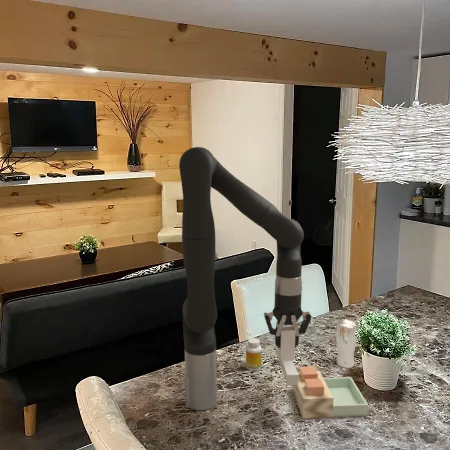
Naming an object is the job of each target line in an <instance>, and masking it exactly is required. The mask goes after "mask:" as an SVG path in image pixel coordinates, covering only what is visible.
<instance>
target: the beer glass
mask: <svg viewBox="0 0 450 450" xmlns="http://www.w3.org/2000/svg"><path fill="white" fill-rule="evenodd" d="M356 330H357V331H358V323H357V322H356V321H354V320H352V319H339V320H338V321H337V322H336V334H335V335H336V336H335V337H336V338H335V339H336V347H337V358H336V365H337V366H339V367H340V368H344V369H350V368H351V369H352V368H353V367H354V366H355V357H354V355H355V350H356V346H357V341H358V336H357V337H356V336H355V331H356Z"/></svg>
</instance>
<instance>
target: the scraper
mask: <svg viewBox="0 0 450 450" xmlns="http://www.w3.org/2000/svg"><path fill="white" fill-rule="evenodd" d="M280 336H281V344H280V348H278V347H277V346H276V345H275V353H276V354H275V355H276V357H277V359H278V363H279V365H280V368H281V372H282V374H283V377H284V381H285V383H286V385H287V386H293V385H298V372H299V371H298V370H297V367H296V365H295V362H294V361H295V354H296V353H295V351H296V348H295V330H294V328H293V327H292V325H284V326H283V329H282V330H281V334H280Z"/></svg>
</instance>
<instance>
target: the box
mask: <svg viewBox="0 0 450 450" xmlns="http://www.w3.org/2000/svg"><path fill="white" fill-rule="evenodd" d="M323 378H324V380H325V382H326V384H327V386H328V388H329V390H330V392H331V394H332V396H333V417H332V418H352V417H354V418H355V417H368V414H369V404H368V402H367V400H366V398H365V397H364V395H363V394H362V393H361V391H360V389H359V387H358V386H357V385H356V383H355V381H354V380H353V377H352V376H348V377H347V376H346V377H323Z"/></svg>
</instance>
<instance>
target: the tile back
mask: <svg viewBox="0 0 450 450" xmlns="http://www.w3.org/2000/svg"><path fill="white" fill-rule="evenodd" d="M317 371H318V370H317V369H316V367H315V366H300V367H299V372H300V377H301V379H302V382H305V379H318V373H317Z"/></svg>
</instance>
